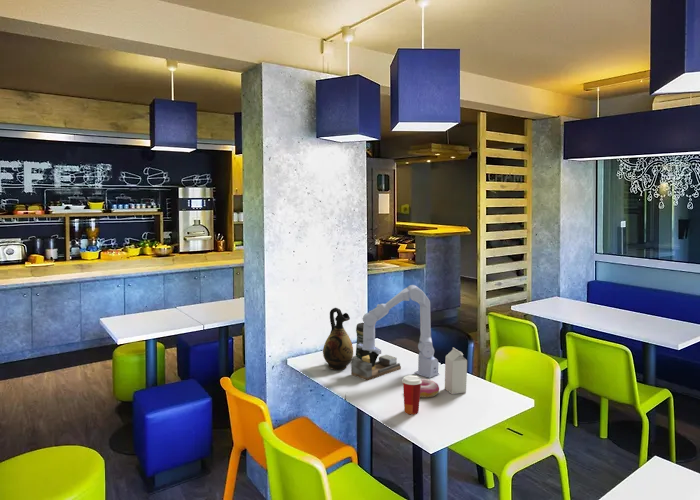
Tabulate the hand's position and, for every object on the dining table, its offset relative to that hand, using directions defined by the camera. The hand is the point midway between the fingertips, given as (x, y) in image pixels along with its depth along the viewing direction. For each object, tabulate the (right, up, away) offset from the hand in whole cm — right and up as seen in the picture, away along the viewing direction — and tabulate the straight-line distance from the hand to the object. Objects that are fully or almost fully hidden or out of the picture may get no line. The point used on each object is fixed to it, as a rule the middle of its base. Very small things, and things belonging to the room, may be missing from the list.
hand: (368, 365), depth 250 cm
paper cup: (+16, -9, -42) cm, 46 cm away
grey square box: (+10, -2, +10) cm, 14 cm away
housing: (0, -2, 0) cm, 2 cm away
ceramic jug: (-16, -4, +12) cm, 20 cm away
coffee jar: (-1, -2, +27) cm, 27 cm away
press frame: (+4, -4, +4) cm, 7 cm away
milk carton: (+38, -7, -20) cm, 43 cm away
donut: (+23, -8, -22) cm, 33 cm away
